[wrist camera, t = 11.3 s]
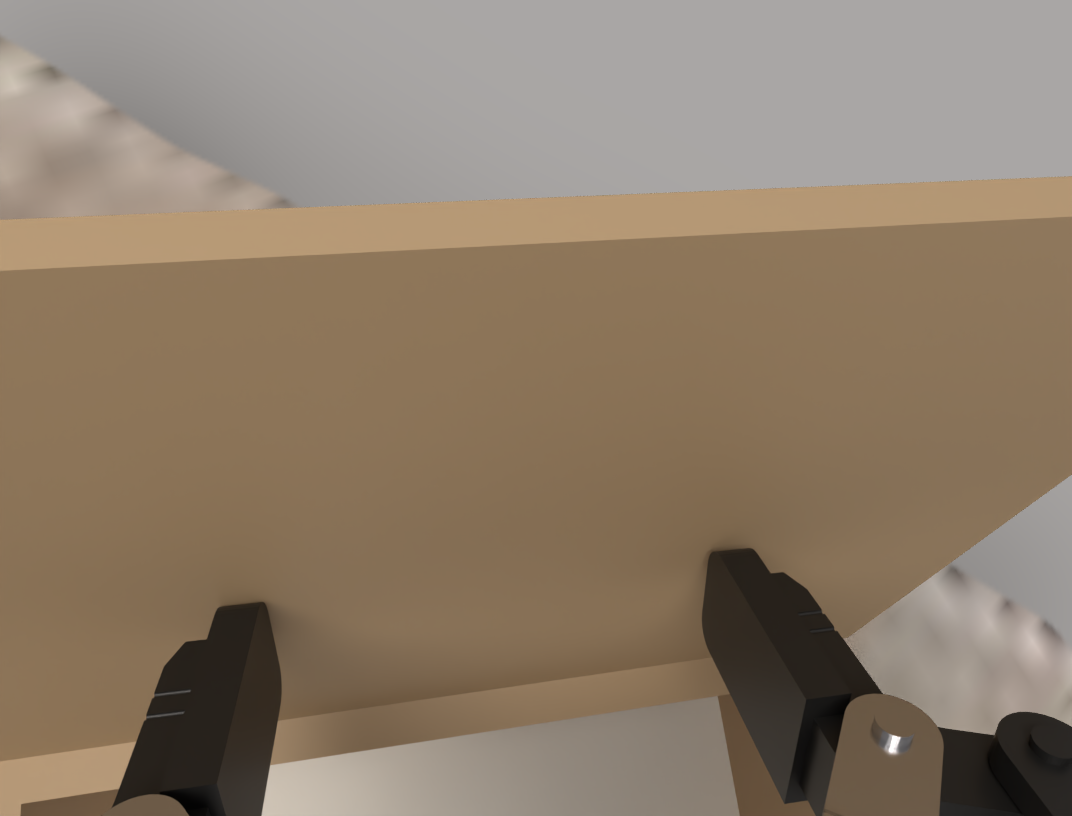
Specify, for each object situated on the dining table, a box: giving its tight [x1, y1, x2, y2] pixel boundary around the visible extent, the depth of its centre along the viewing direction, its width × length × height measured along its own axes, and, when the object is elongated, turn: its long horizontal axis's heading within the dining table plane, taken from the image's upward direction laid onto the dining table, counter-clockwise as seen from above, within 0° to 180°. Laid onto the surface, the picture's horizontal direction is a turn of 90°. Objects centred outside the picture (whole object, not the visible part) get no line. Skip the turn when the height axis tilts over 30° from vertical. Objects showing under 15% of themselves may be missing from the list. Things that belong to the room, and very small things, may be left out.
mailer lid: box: [0, 176, 1072, 761], centre depth 14 cm, size 16×23×1 cm
